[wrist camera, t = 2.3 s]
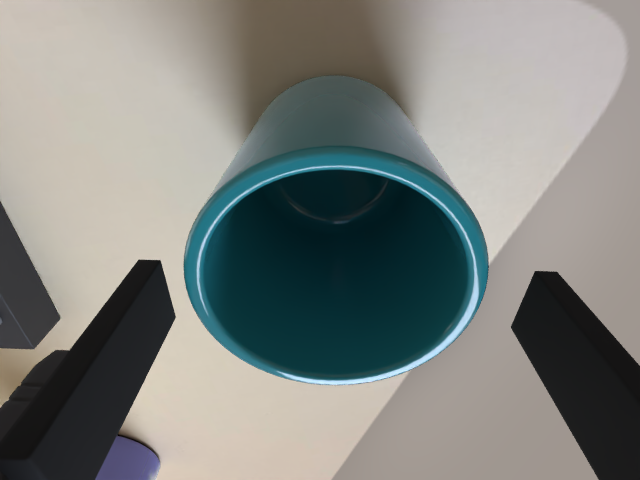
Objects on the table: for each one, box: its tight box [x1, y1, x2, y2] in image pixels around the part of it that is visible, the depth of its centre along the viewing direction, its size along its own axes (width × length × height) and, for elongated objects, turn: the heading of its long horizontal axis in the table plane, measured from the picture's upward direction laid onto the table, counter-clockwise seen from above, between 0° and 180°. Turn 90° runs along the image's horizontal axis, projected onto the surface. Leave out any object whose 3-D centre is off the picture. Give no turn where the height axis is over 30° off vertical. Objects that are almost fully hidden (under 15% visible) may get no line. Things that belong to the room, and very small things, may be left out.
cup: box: [184, 75, 489, 385], centre depth 16 cm, size 9×12×11 cm
